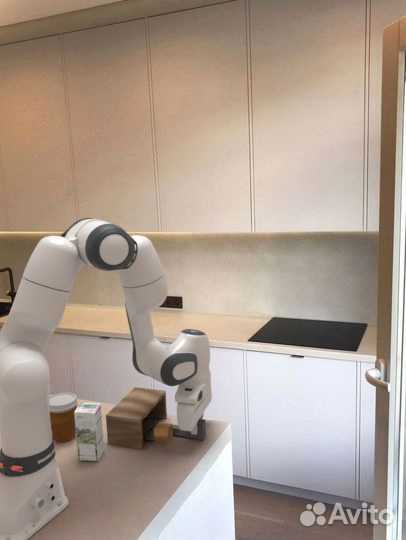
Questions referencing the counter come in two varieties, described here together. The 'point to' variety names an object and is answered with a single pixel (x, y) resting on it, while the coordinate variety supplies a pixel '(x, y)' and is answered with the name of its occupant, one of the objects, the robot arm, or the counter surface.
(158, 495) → the counter surface
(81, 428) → the syrup box
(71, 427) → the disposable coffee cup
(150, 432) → the metal crook
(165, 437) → the orange block
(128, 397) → the walnut cubby
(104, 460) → the counter surface
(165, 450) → the counter surface
